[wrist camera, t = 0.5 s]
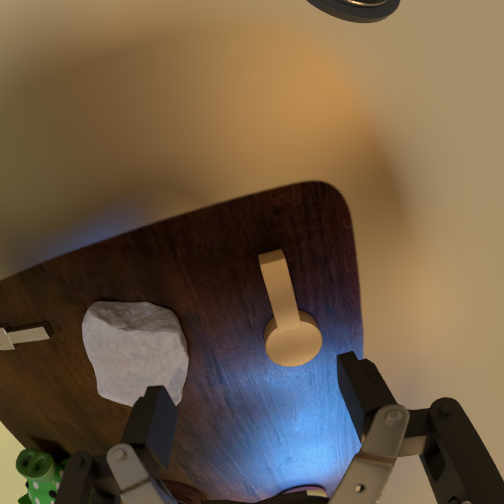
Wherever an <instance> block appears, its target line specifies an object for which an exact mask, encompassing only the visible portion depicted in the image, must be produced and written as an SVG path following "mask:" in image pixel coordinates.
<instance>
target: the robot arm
mask: <svg viewBox="0 0 504 504" xmlns="http://www.w3.org/2000/svg"><path fill="white" fill-rule="evenodd" d="M336 1H338V2H340V3H343V4H346V5H349V6H353V7H357V8H375V7H379V6H381V5H383V4H384V3H386V2H387V1H388V0H336ZM337 375H338V384H339V388H340V391H341V394H342V396H343V399H344V401H345V404H346V406H347V409H348V412H349V414H350V417H351V419H352V422H353V424H354V427H355V430H356V432H357V435H358V438H359V440H360V443H361V444H362V443H363V444H362V446H361V449H360V451H359V452H358V454H355V456H354V457H353V459H352V461H351V463H350V465H349V467H348V469H347V470H346V472H345V474H344V476H343V478H342V480H341V481H340V483H339V485H338V487H337V488H336V490H335V492H334V494H333V495H332V497H331V498H327V497H323V496H316V495H307V490H302V491H297V492H291V493H285V494H279V495H277V496H274V497H271V498H268V499H265V500H262V501H259V502H256V503H244V502H237V501H230V500H203V501H201V504H378V502H379V500H380V498H381V496H382V494H383V491H384V489H385V487H386V484H387V482H388V480H389V477H390V475H391V473H392V470H393V467H394V465H395V462H396V460H397V457H403V456H412V455H419V457H420V459H421V462H422V464H423V467H424V469H425V472H426V474H427V476H428V479H429V482H430V485H431V487H432V490H433V492H434V495H435V498H436V501H437V503H438V504H504V481H503V479H502V477H501V476H500V473H499V471H498V469H497V467H496V465H495V464H494V462H493V460H492V458H491V456H490V455H489V453H488V451H487V449H486V447H485V445H484V444H483V442H482V440H481V438H480V437H479V435H478V433H477V432H476V430H475V428H474V427H473V425H472V423H471V422H470V420H469V418H468V417H467V415H466V413H465V412H464V410H463V409H462V407H461V405H460V404H459V403H458V402H457V401H456V400H454V399H452V398H447V397H445V398H440V399H437V400H436V401H434V402H433V403H432V405H431V407H430V408H426V409H419V410H409V409H406V408H405V407H404V406H402V405H399V404H398V403H397V402H396V400H395V399H394V397H393V395H392V393H391V392H390V390H389V388H388V386H387V385H386V383H385V381H384V380H383V378H382V376H381V374H380V373H379V371H378V369H377V367H376V366H375V364H374V363H372V362H371V361H369V360H368V359H362V360H358V359H357V357H356V355H355V353H354V352H353V351H350V352H347V353H343V354H339V355H337ZM176 422H177V409H176V406H175V404H174V402H173V400H172V399H171V397H170V395H169V393H168V391H167V389H166V388H165V386H164V385H155V386H148V387H147V389H146V392H145V395H144V397H139V399H138V400H137V401H136V402H135V403H134V405H133V408H132V411H131V414H130V416H129V420H128V422H127V425H126V428H125V431H124V434H123V437H122V440H121V443H120V444H117V445H115V446H113V447H112V448H111V449H110V450H109V451H108V453H107V455H103V456H97V457H91V456H90V455H89V454H88V453H87V452H85V451H78V452H76V453H74V454H72V455H71V456H70V458H69V459H68V462H67V465H66V467H65V470H64V473H63V476H62V479H61V482H60V485H59V488H58V492H57V495H56V498H55V501H54V504H120V501H121V499H122V501H123V503H124V504H178V503H177V501H176V500H175V499H174V497H173V496H172V495H171V493H170V492H169V491H168V489H167V488H166V486H165V485H164V483H163V482H162V481H161V479H160V478H159V477H158V473H159V471H168V466H169V460H170V454H171V449H172V443H173V438H174V432H175V427H176ZM92 490H93V491H92ZM91 492H92V495H91ZM90 496H91V499H90ZM89 500H90V503H89Z"/></svg>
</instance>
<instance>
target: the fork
mask: <svg viewBox="0 0 504 504" xmlns="http://www.w3.org/2000/svg"><path fill="white" fill-rule="evenodd" d="M53 334H54V332H53V330H52V329H51V327H50V325H49V323H48V322H43V323H38V324H33V325H28V326H23V327H17V328H12V329H11V328H10V327H9V325H8V323H7V324H2V325H0V350H11V349H15V348H16V347H17V346H18V345H19V343H22V342H30V341H37V340H44V339H50V337H51V336H52V335H53Z"/></svg>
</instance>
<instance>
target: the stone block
mask: <svg viewBox="0 0 504 504" xmlns="http://www.w3.org/2000/svg"><path fill="white" fill-rule="evenodd" d="M82 332H83V341H84V345H85V348H86V352H87V354H88V357H89V359H90V361H91V363H92V365H93V367H94V370H95V375H96V378H97V390H98V393H99V395H101V396H102V397H104V398H107V399H110V400H112V401H115V402H118V403H121V404H126V405H129V406H132V407H133V405H134V403H135V402H136V401H137V400H138V399H139V397H144V395H145V392H146V389H147V387H148V386H155V385H164V386H165V388H166V389H167V391H168V393H169V395H170V397H171V399H172V400H173V402H174V404H175V406H176V405H177V404H178V403H179V402H180V401H181V398H182V389H183V385H184V383H185V378H186V375H187V368H188V362H189V357H188V354H187V342H186V339H185V337H184V334H183V331H182V330H181V326H180V324H179V321H178V318H177V317H176V316H175V314H174V313H173V311H171V310H169V309H166V308H162V307H160V306H156V305H154V304H152V303H149V302H140V303H138V302H132V303H125V302H105V301H98V302H95V303H94V304H93V305H92V306H91V307H89V309H88V311H87V313H86V315H84V320H83V323H82Z"/></svg>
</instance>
